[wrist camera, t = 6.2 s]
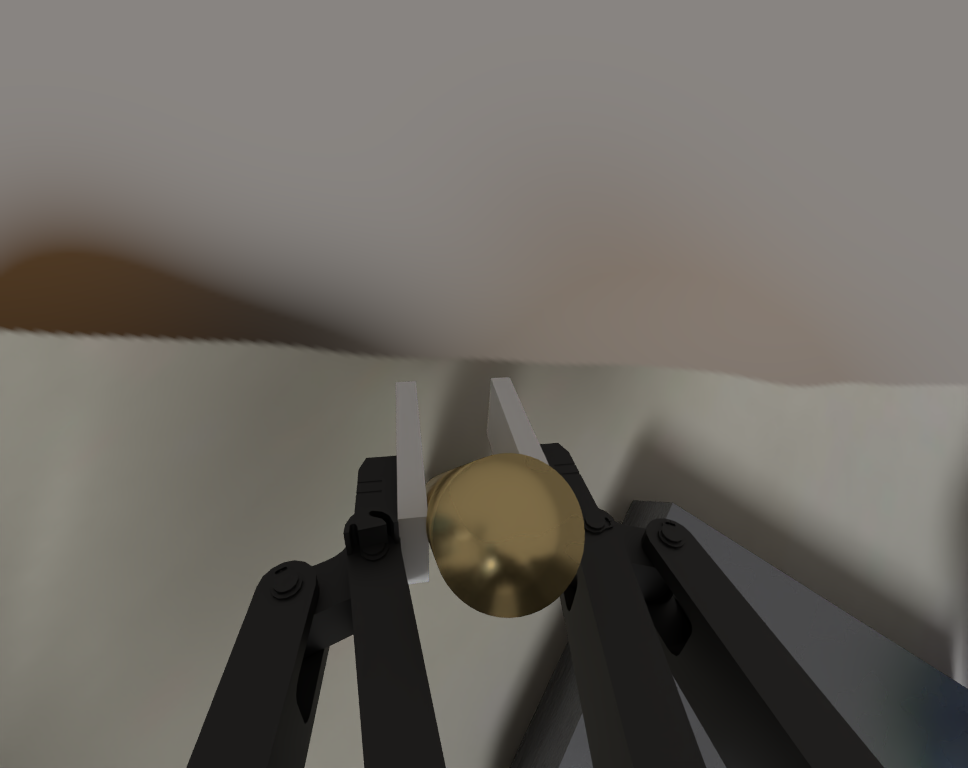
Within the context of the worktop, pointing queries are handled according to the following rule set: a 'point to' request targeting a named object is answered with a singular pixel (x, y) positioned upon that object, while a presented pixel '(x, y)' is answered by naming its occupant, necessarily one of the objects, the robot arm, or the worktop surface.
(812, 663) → the plate
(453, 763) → the worktop surface
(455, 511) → the brass pin
